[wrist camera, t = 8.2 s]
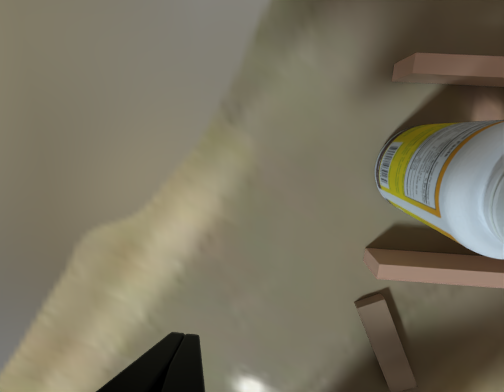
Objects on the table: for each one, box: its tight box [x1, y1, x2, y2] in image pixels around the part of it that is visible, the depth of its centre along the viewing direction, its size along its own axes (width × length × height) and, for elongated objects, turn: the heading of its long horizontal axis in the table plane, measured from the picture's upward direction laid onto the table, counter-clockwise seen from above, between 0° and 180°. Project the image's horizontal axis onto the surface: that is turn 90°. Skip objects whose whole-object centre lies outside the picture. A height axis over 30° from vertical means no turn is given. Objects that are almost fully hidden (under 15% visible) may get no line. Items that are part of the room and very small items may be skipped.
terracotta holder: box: [363, 53, 504, 288], centre depth 17 cm, size 13×12×2 cm
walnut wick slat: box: [354, 293, 418, 392], centre depth 21 cm, size 8×2×1 cm, turn 24°
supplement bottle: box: [375, 120, 504, 259], centre depth 13 cm, size 6×6×10 cm
